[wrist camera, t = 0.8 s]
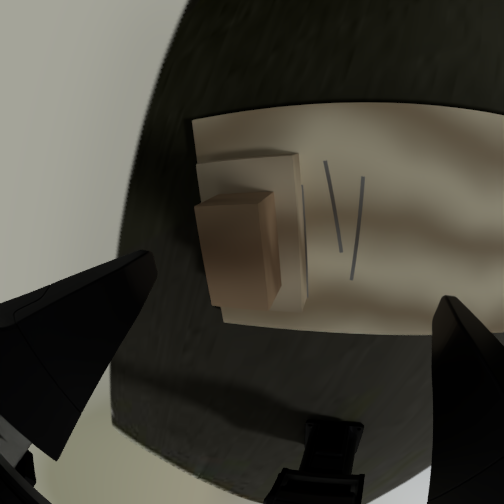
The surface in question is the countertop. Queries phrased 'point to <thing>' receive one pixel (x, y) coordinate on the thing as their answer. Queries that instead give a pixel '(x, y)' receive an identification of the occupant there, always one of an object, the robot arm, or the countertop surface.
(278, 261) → the block
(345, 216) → the board
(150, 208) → the countertop surface
